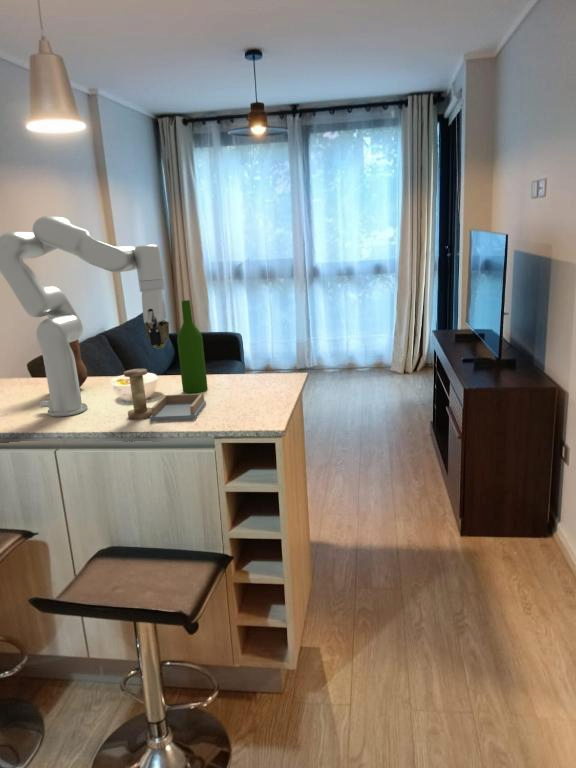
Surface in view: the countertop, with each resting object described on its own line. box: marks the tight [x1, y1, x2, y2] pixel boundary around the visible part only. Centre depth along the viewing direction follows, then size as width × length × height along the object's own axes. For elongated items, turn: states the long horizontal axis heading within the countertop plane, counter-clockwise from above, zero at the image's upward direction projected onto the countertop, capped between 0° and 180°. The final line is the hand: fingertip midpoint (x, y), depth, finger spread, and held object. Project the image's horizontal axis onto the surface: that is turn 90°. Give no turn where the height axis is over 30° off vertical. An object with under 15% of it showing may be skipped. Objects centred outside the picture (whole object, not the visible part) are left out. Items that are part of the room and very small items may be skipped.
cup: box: [144, 320, 170, 349], centre depth 187 cm, size 8×7×8 cm
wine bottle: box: [176, 299, 208, 394], centre depth 211 cm, size 9×9×32 cm
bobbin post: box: [123, 368, 152, 421], centre depth 186 cm, size 8×8×14 cm
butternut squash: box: [69, 339, 88, 389], centre depth 226 cm, size 14×13×25 cm
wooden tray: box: [149, 392, 207, 423], centre depth 187 cm, size 14×16×4 cm
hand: (159, 342), depth 188 cm, fingers closed on cup, 6 cm apart
